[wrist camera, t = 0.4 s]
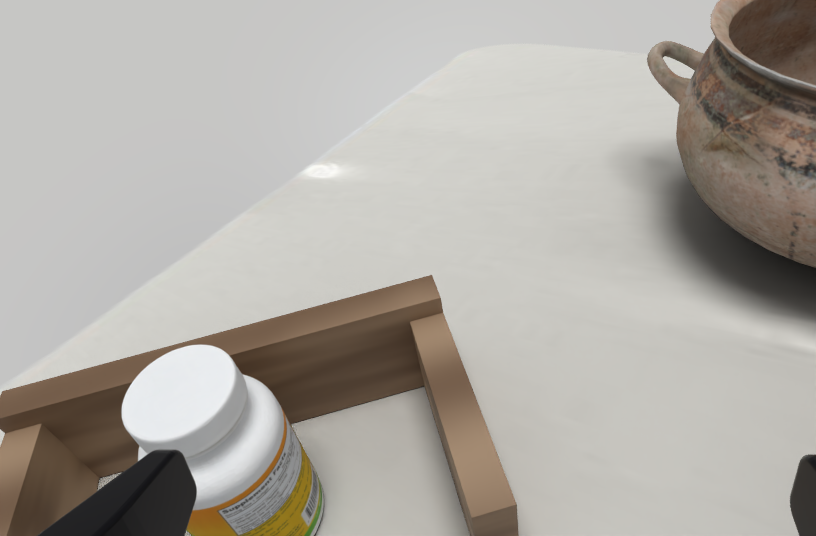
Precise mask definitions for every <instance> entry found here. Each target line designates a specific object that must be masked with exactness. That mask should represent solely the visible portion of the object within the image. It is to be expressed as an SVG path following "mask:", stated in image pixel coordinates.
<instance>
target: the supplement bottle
mask: <svg viewBox="0 0 816 536" xmlns="http://www.w3.org/2000/svg"><path fill="white" fill-rule="evenodd" d="M122 420H123V424H124V426H125V428H126V430H127V431H128V433H129V434H130V435H131V436H132V438H133V439H134V440H135V441H136V442H137V443H138V445H139V450H138V461H139V460H140V459H142V458H143V457H144V456H146V455H147V454H149V453H150V452H152V451H154V450H158V449H176V450H179V451H180V452H181V453H183V455H184V457H185V459H186V462H187V464H188V466H189V469H190V471H191V473H192V476H193V478H194V480H195V483H196V488H197V496H196V501H195V504H194V507H193V511H192V514H191V517H190V520H189V523H188V526H187V529H186V530H187V531H188V532H189V533H190V534H191V535H192V536H314V535H315V533H316V531H317V529H318V526H319V524H320V521H321V518H322V513H323V506H324V497H323V490H322V486H321V483H320V480H319V478H318V476H317V473H316V471H315V469H314V467H313V466H312V464H311V462H310V460H309V458H308V456H307V454H306V453H305V451H304V449H303V447H302V445H301V443H300V441H299V439H298V438H297V436H296V434H295V432H294V430H293V428H292V426H291V424H290V422H289V421H288V419H287V417H286V415H285V413H284V411H283V409H282V407H281V406H280V404H279V403H278V401H277V399H276V398H275V396H274V395H273V393H272V392H271V391H270V390H269V389H268V388H267V387H266V386H265V385H264V384H263V383H261V382H260V381H258V380H256V379H254V378H252V377H249V376H246V375H243V374H242V373H241V372H240V371H239V369H238V367H237V366H236V364H235V363H234V361H233V360H232V358H231V357H230V356H229V355H228V354H227V353H226V352H225V351H223V350H222V349H220V348H217V347H214V346H210V345H190V346H186V347H182V348H179V349H176V350H173V351H171V352H169V353H167V354H165V355H163V356H161V357H159V358H158V359H156V360H155V361H153V362H152V363H151V364H149V365H148V366H147V367H146V368H145V369H144V370H143V371H141V372H140V374H139V375H138V376H137V377H136V378H135V379H134V381H133V382H132V384H131V385H130V387H129V388H128V390H127V392H126V394H125V397H124V400H123V403H122Z"/></svg>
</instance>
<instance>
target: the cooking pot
mask: <svg viewBox="0 0 816 536" xmlns="http://www.w3.org/2000/svg"><path fill="white" fill-rule="evenodd" d="M711 29H712V31H713V33H714V35H715V39H714V40H713V42H712V43H711V45H710V46H709V47H708V49H707V50H706V52H705V53H704V54H703V53H700V52H698V51H695V50H693V49H691V48H688V47H686V46H683V45H681V44H678V43H675V42H671V41H664V42H661V43H659V44H657V45H655V46H654V47H653V48H652V49H651V50H650V52H649V54H648V58H647V62H648V66H649V69H650V71H651V73H652V74H653V76H654V77H655V79H656V80H657V82H658V83H659V84H660V85H661V86H662V87H663V88H664V89H665V90H666V91H667V92H668V93H669V94H670V95H671V96H672V97H673V98H674V99H675V100H676V101H677V102H678V103H679V104H680V106H679V112H678V119H677V132H676V137H677V144H678V148H679V152H680V155H681V159H682V162H683V166H684V169H685V172H686V174H687V176H688V179H689V180H690V182H691V184H692V185H693V187H694V188H695V190H696V191H697V193H698V195H699V196H700V198H701V199H702V200H703V202H704V203H705V204H706V205H707V206H708V207H709V208H710V209H711V210H712V211H713V212H714V213H715V214H716V215H717V216H718V217H719V218H720V219H721V220H722V221H724V222H725V223H727V224H728V225H729V226H731V227H732V228H733V229H735V230H736V231H737V232H739V233H740V234H742V235H743V236H744V237H746V238H748V239H749V240H751V241H753V242H755V243H757V244H759V245H760V246H762V247H764V248H766V249H768V250H770V251H772V252H774V253H777V254H779V255H781V256H784V257H786V258H789V259H791V260H793V261H796V262H798V263H801V264H805V265H808V266H811V267H815V268H816V0H720V1H719V2H718V3H717V4H716V6H715V8H714V10H713V12H712V14H711ZM664 56H667V57H670V58H673V59H675V60H677V61H680V62H682V63H683V64H685V65H687V66H689V67H690V68H692V69H693V70H695V72H694V74H693V76H692V78H691V79H687V78H683V77H680V76H678V75H676V74H674V73H673V72H672V71H671V70H670V69H669V68H668V66H667V65H666V63H665V62H664V60H663V57H664Z"/></svg>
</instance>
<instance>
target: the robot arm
mask: <svg viewBox="0 0 816 536" xmlns="http://www.w3.org/2000/svg"><path fill="white" fill-rule="evenodd" d="M196 496H197V488H196V483H195V480H194V478H193V476H192V473H191V471H190V469H189V466H188V464H187V462H186V459H185V457H184V455H183V453H181V452H180V451H179V450H176V449H158V450H154V451H152V452H150V453H149V454H147V455H146V456H144V457H143V458H142V459H140V460H139V461H138V462H136V463H135V464H134V465H132V466H131V467H129V468H128V469H127V470H125V471H124V472H123V473H121V474H120V475H119V476H117V477H116V478H115V479H113V480H112V481H110V482H109V483H108V484H106V485H105V486H104V487H102V488H101V489H100V490H98V491H97V492H95V493H94V494H93V495H91V496H90V497H89V498H87V499H86V500H85V501H83V502H82V503H80V504H79V505H78V506H76V507H75V508H74V509H72V510H71V511H70V512H68V513H67V514H65V515H64V516H63V517H61V518H60V519H59V520H57V521H56V522H55V523H53V524H52V525H50V526H49V527H48V528H46V529H45V530H44V531H42V532H41V533H40V534H38V535H37V536H185V533H186V529H187V526H188V523H189V520H190V517H191V514H192V511H193V507H194V504H195V501H196ZM790 507H791V512H792V516H793V519H794V522H795V524H796V527H797V530H798V533H799V536H816V455H805V456H804V457H803V458H802V459H801V460H800V463H799V466H798V469H797V473H796V477H795V481H794V484H793V488H792V492H791V496H790Z"/></svg>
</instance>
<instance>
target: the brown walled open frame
mask: <svg viewBox="0 0 816 536" xmlns="http://www.w3.org/2000/svg"><path fill="white" fill-rule="evenodd" d="M190 345H210V346H214V347H217V348H220V349H222V350H223V351H225V352H226V353H227V354H228V355H229V356H230V357H231V358H232V360H233V361H234V363H235V364H236V366H237V367H238V369H239V371H240V372H241V373H242V374H243V375H246V376H249V377H252V378H254V379H256V380H258V381H260V382H261V383H263V384H264V385H265V386H266V387H267V388H268V389H269V390H270V391H271V392H272V393H273V395H274V396H275V398H276V399H277V401H278V403H279V404H280V406H281V407H282V409H283V411H284V413H285V415H286V417H287V419H288V421H289V422H290V424H292V423H295V422H299V421H302V420H306V419H309V418H313V417H316V416H320V415H324V414H327V413H331V412H334V411H338V410H341V409H345V408H348V407H352V406H355V405H359V404H362V403H366V402H369V401H373V400H376V399H380V398H383V397H387V396H391V395H394V394H398V393H401V392H405V391H408V390H412V389H415V388H419V387H422V386H425V389H426V393H427V396H428V399H429V402H430V406H431V409H432V412H433V415H434V419H435V422H436V425H437V429H438V432H439V435H440V438H441V442H442V445H443V448H444V451H445V455H446V458H447V461H448V465H449V468H450V471H451V474H452V478H453V481H454V484H455V487H456V491H457V494H458V497H459V501H460V504H461V507H462V510H463V514H464V517H465V520H466V523H467V527H468V530H469V533H470V536H518V520H517V504H516V502H515V499H514V496H513V494H512V491H511V489H510V486H509V483H508V481H507V478H506V476H505V473H504V470H503V468H502V465H501V463H500V460H499V457H498V455H497V452H496V450H495V447H494V444H493V442H492V439H491V436H490V434H489V431H488V429H487V426H486V423H485V421H484V418H483V416H482V413H481V410H480V408H479V405H478V403H477V400H476V397H475V395H474V392H473V389H472V387H471V384H470V382H469V379H468V376H467V374H466V371H465V369H464V366H463V363H462V361H461V358H460V356H459V353H458V350H457V348H456V345H455V343H454V340H453V337H452V335H451V332H450V329H449V327H448V324H447V322H446V319H445V316H444V314H443V309H442V303H441V298H440V295H439V292H438V290H437V287H436V285H435V282H434V280H433V277H432V275H430V276H426V277H423V278H419V279H415V280H412V281H408V282H404V283H401V284H397V285H393V286H389V287H386V288H382V289H378V290H375V291H371V292H367V293H364V294H360V295H356V296H353V297H349V298H345V299H342V300H338V301H334V302H330V303H327V304H323V305H319V306H316V307H312V308H308V309H305V310H301V311H297V312H294V313H290V314H286V315H283V316H279V317H275V318H271V319H268V320H264V321H260V322H257V323H253V324H249V325H246V326H242V327H238V328H235V329H231V330H227V331H224V332H220V333H216V334H212V335H209V336H205V337H201V338H198V339H194V340H190V341H187V342H183V343H179V344H176V345H172V346H168V347H164V348H161V349H157V350H153V351H150V352H146V353H142V354H139V355H135V356H131V357H128V358H124V359H120V360H117V361H113V362H109V363H105V364H102V365H98V366H94V367H91V368H87V369H83V370H80V371H76V372H72V373H69V374H65V375H61V376H58V377H54V378H50V379H46V380H43V381H39V382H35V383H32V384H28V385H24V386H21V387H17V388H13V389H10V390H6V391H2V394H1V396H0V429H1V430H2V431H3V432H4V433H5V436H4V438H3V441H2V444H1V447H0V536H37V535H38V534H40V533H41V532H42V531H44V530H45V529H46V528H48V527H49V526H50V525H52V524H53V523H55V522H56V521H57V520H59V519H60V518H61V517H63V516H64V515H65V514H67V513H68V512H70V511H71V510H72V509H74V508H75V507H76V506H78V505H79V504H80V503H82V502H83V501H85V500H86V499H87V498H89V497H90V496H91V495H93V494H94V493H95V492H97V487H98V482H99V478H101V477H105V476H108V475H112V474H115V473H119V472H122V471H125V470H127V469H128V468H129V467H131V466H132V465H134V464H135V463H136V462H138V450H139V445H138V443H137V442H136V441H135V440H134V439H133V438H132V436H131V435H130V434H129V433H128V431H127V430H126V428H125V426H124V424H123V420H122V403H123V400H124V397H125V394H126V392H127V390H128V388H129V387H130V385H131V384H132V382H133V381H134V379H135V378H136V377H137V376H138V375H139V374H140V372H141V371H143V370H144V369H145V368H146V367H147V366H148V365H149V364H151V363H152V362H153V361H155V360H156V359H158V358H159V357H161V356H163V355H165V354H167V353H169V352H171V351H173V350H176V349H179V348H182V347H186V346H190Z"/></svg>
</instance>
